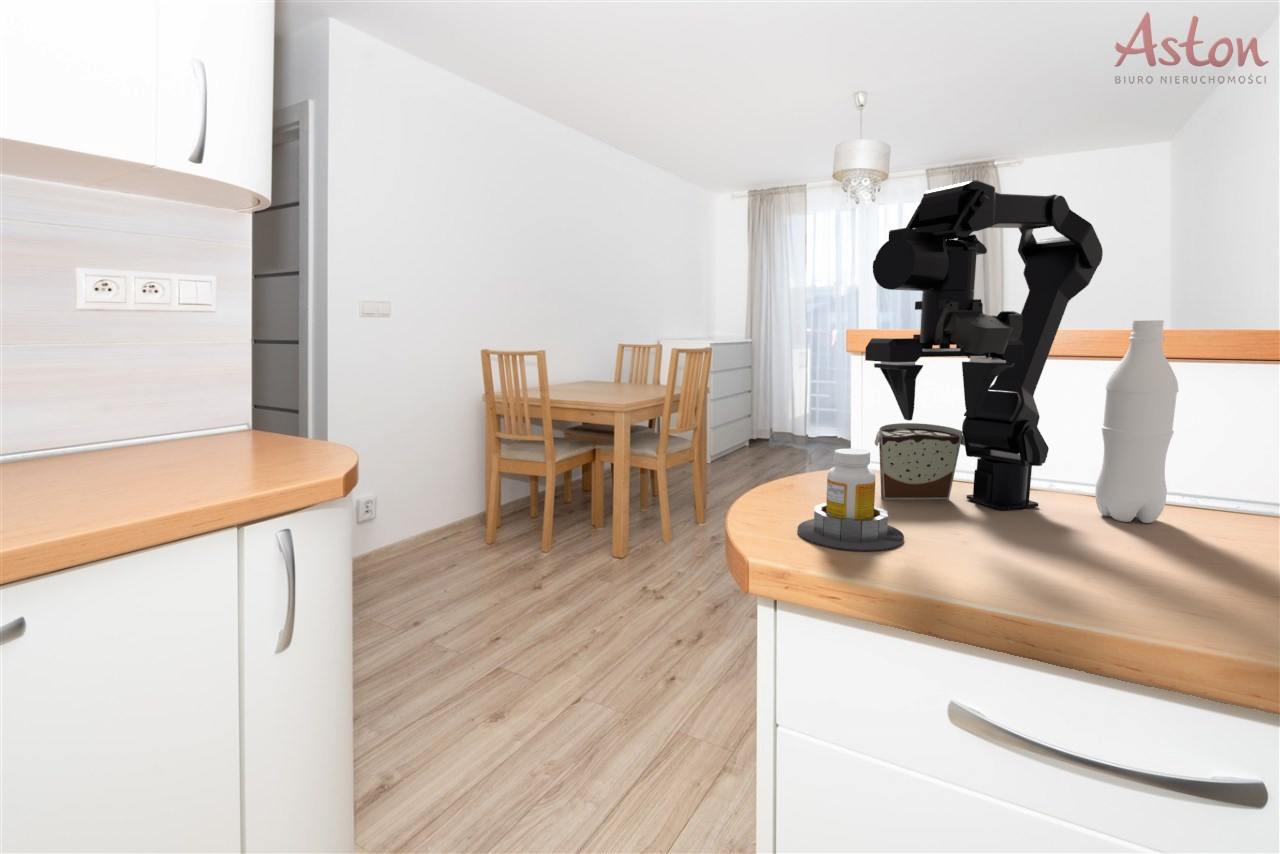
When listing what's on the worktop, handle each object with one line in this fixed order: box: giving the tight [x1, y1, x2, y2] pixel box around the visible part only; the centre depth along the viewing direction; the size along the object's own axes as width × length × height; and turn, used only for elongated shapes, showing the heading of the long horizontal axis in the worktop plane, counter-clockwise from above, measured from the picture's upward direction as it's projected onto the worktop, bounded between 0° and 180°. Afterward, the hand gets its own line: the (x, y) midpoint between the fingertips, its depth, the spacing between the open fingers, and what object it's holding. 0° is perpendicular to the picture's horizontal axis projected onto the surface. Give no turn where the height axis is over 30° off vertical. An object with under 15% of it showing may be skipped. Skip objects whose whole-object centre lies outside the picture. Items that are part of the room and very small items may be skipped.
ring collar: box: [797, 502, 905, 552], centre depth 76 cm, size 12×12×3 cm
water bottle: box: [1094, 319, 1179, 524], centre depth 80 cm, size 7×7×25 cm
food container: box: [873, 422, 965, 500], centre depth 94 cm, size 12×6×10 cm, turn 88°
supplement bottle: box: [825, 448, 876, 519], centre depth 75 cm, size 5×5×10 cm
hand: (940, 418), depth 81 cm, fingers open, 9 cm apart
